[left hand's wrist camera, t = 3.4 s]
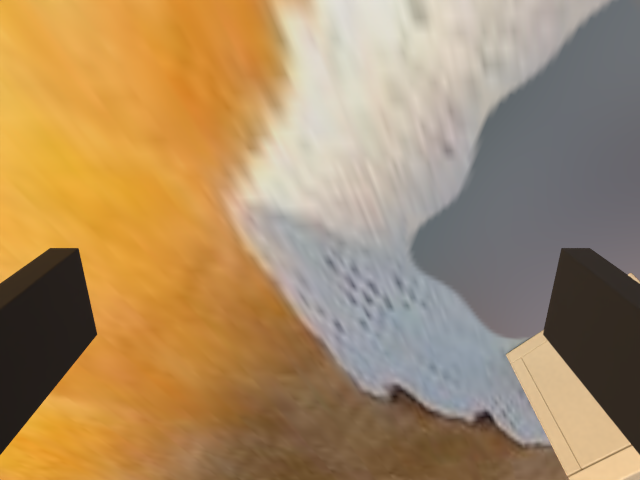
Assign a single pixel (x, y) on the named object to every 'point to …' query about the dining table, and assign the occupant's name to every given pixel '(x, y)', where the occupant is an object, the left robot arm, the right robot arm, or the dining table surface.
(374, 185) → the dining table surface
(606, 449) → the chest
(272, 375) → the dining table surface
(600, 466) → the lid
